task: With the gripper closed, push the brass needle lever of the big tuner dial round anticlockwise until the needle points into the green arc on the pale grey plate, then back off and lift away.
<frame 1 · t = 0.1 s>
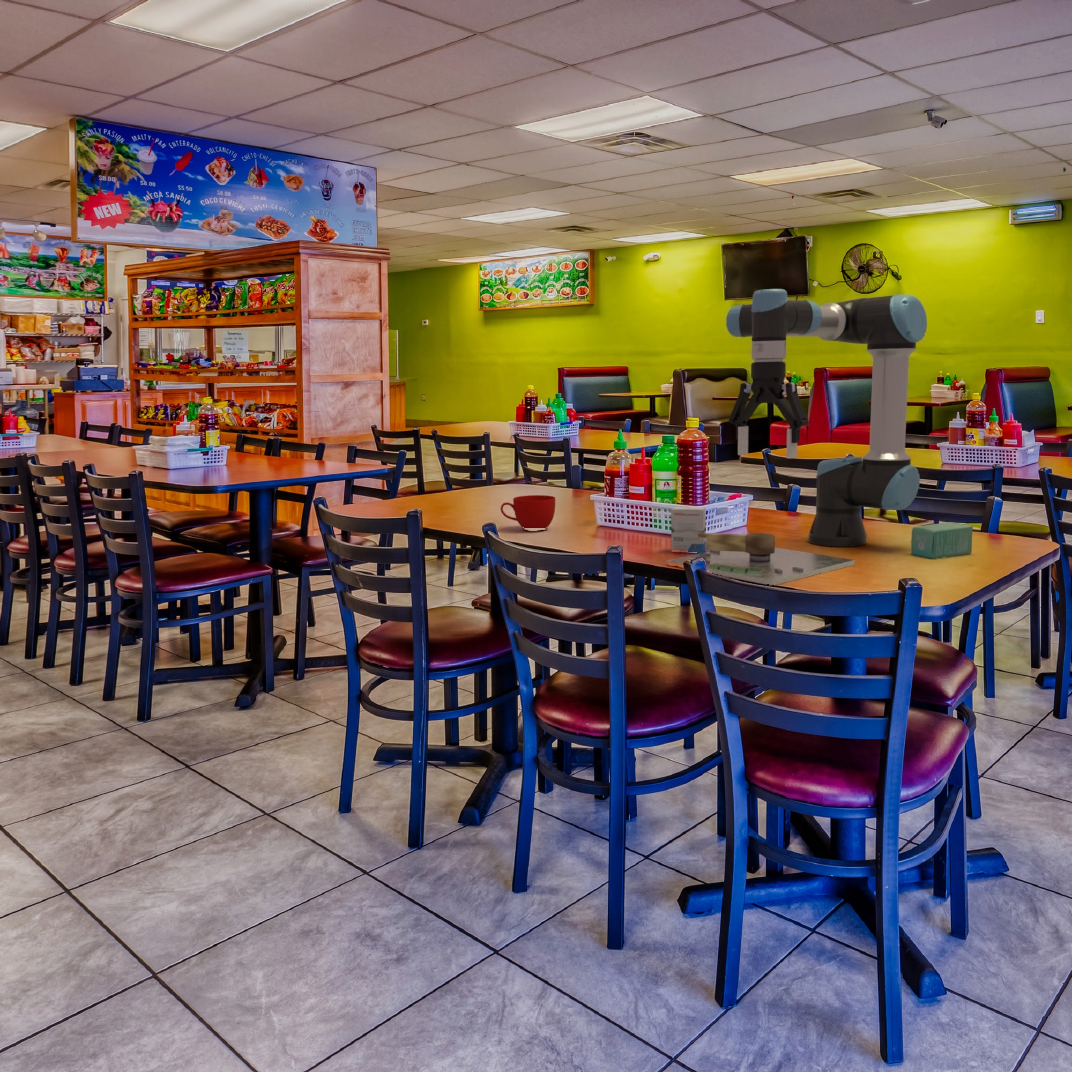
hand: (766, 456, 214), 28 cm above the table, fingers open, 13 cm apart
box: (940, 555, 240), on the table
dial: (735, 542, 233), point 5 cm above the table, hinge at 0.0°
tuner plate: (759, 564, 232), on the table
ink box: (688, 552, 251), on the table
ceramic cup: (528, 531, 291), on the table
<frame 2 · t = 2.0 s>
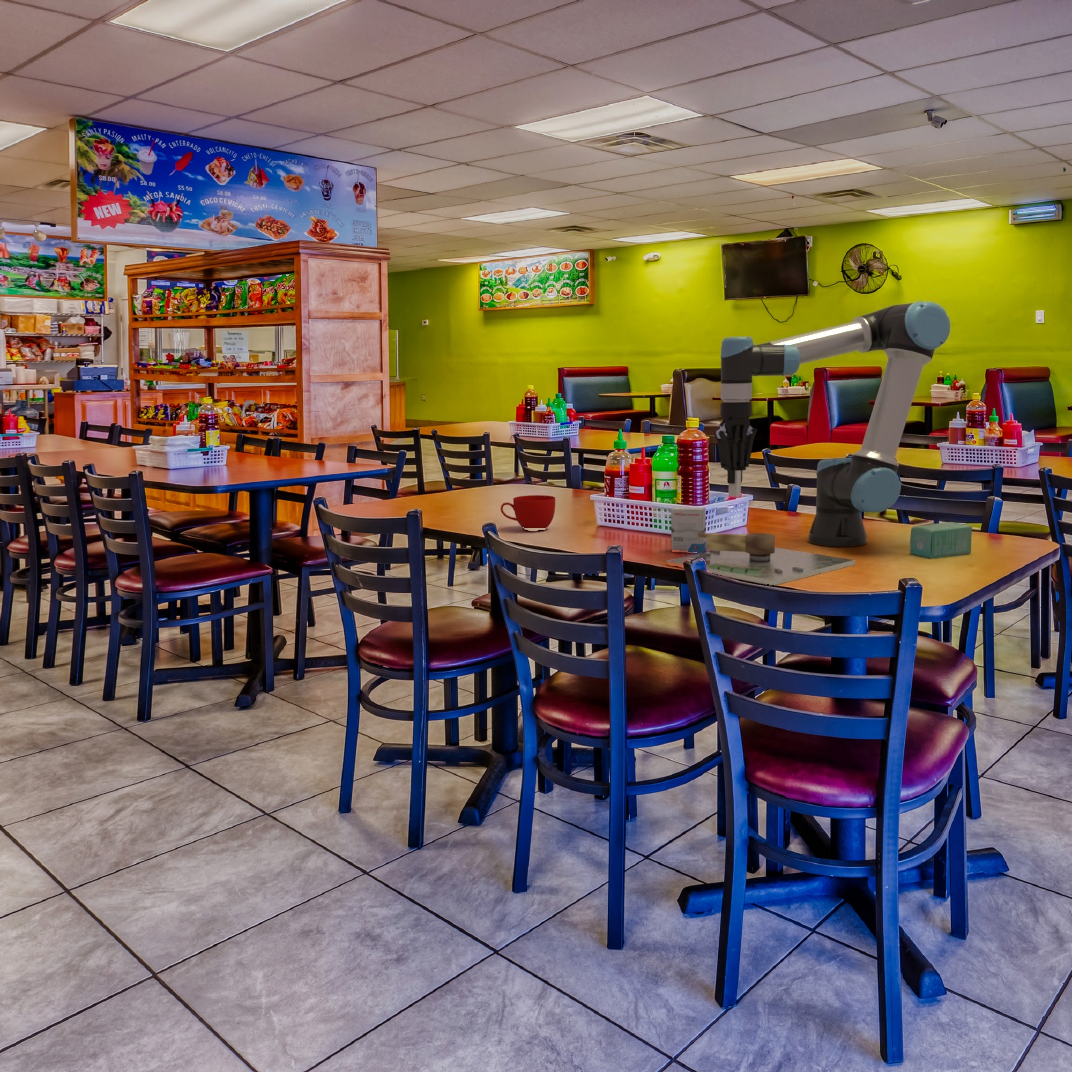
hand: (734, 496, 236), 16 cm above the table, fingers closed
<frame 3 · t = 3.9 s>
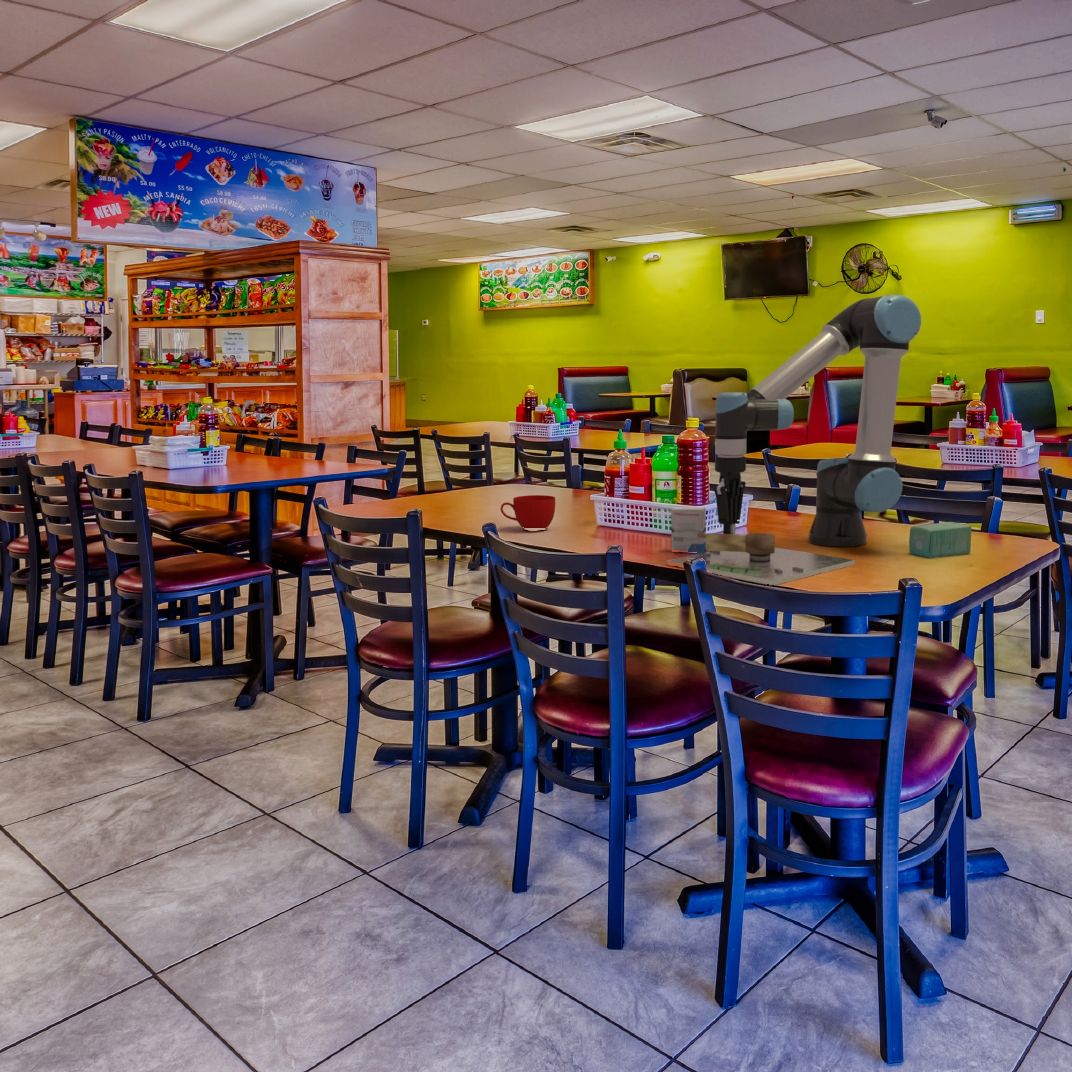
hand: (728, 549, 237), 3 cm above the table, fingers closed
dial: (735, 542, 233), point 5 cm above the table, hinge at 2.2°, touching gripper
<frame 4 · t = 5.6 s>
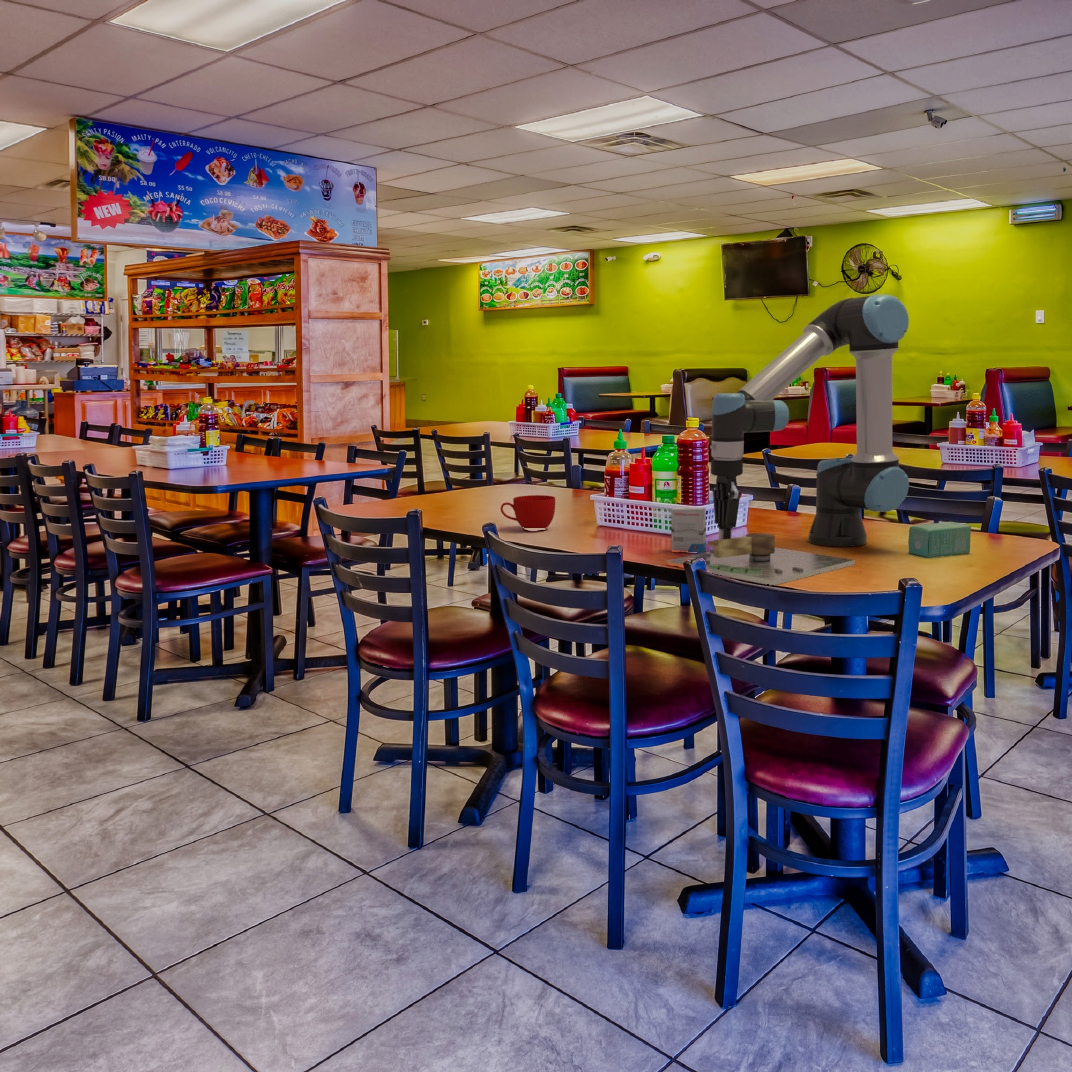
hand: (724, 554, 231), 3 cm above the table, fingers closed
dial: (740, 546, 229), point 5 cm above the table, hinge at 46.3°, touching gripper
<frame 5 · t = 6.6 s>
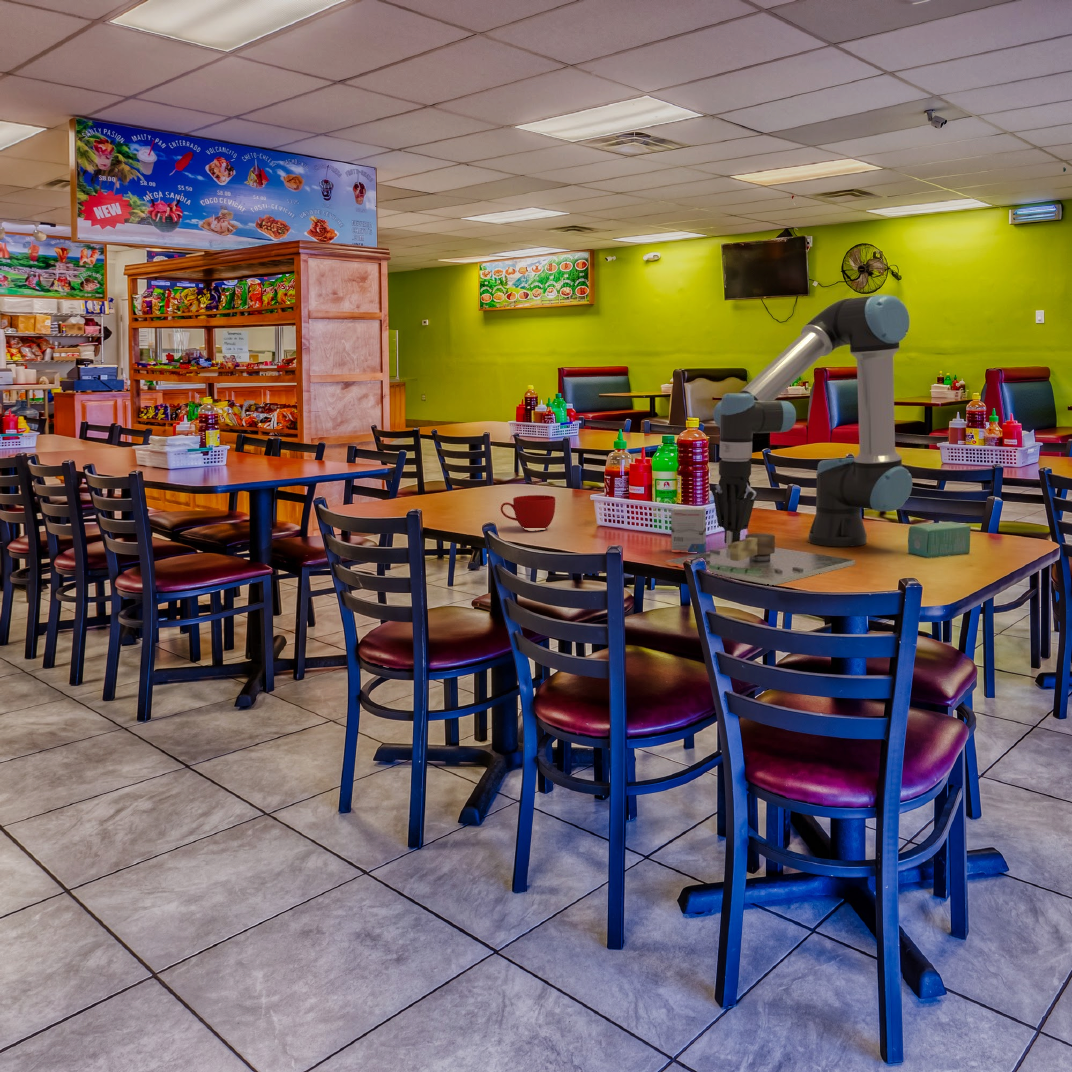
hand: (731, 557, 227), 3 cm above the table, fingers closed
dial: (748, 547, 227), point 5 cm above the table, hinge at 70.9°, touching gripper
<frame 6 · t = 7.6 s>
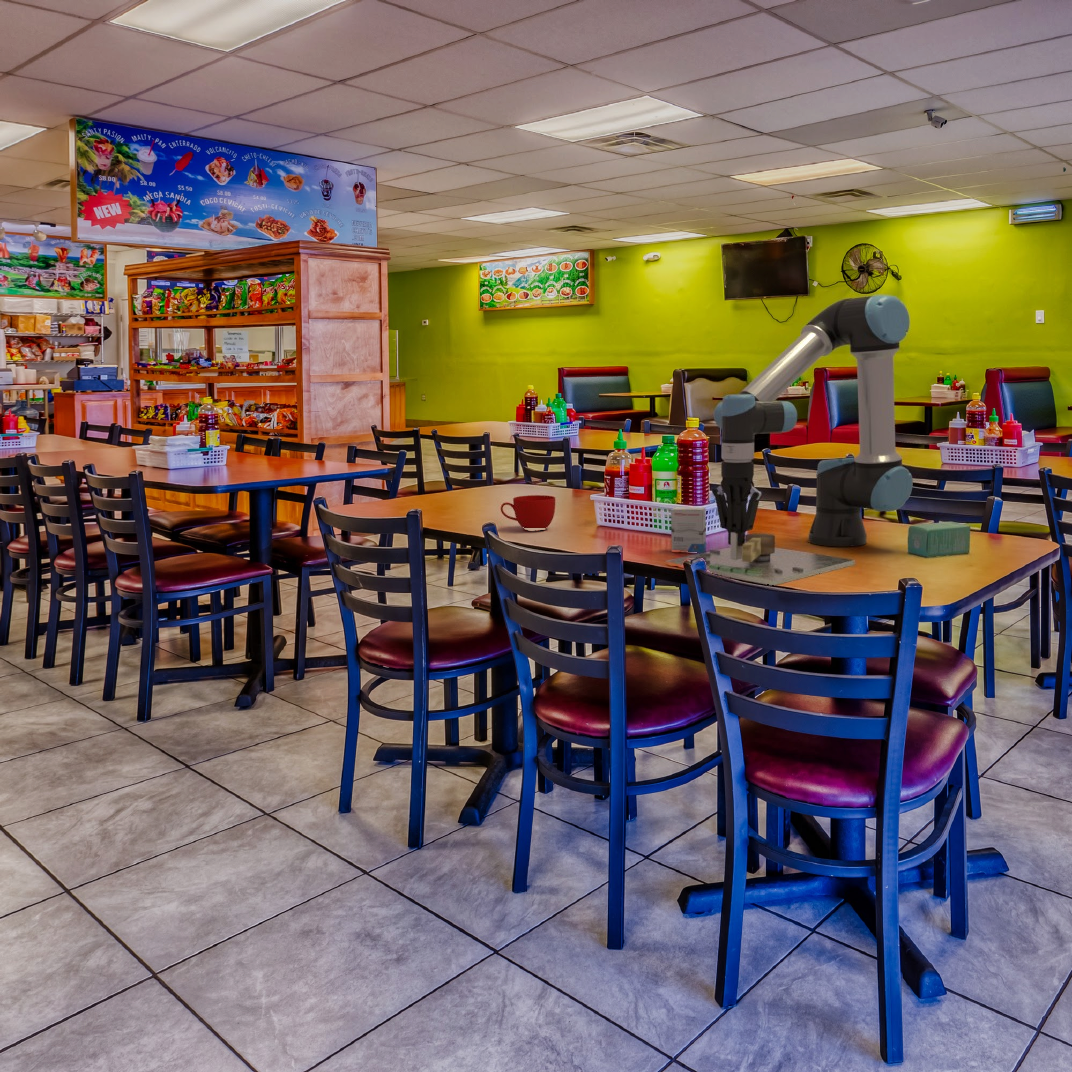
hand: (736, 558, 227), 3 cm above the table, fingers closed
dial: (754, 547, 226), point 5 cm above the table, hinge at 84.2°
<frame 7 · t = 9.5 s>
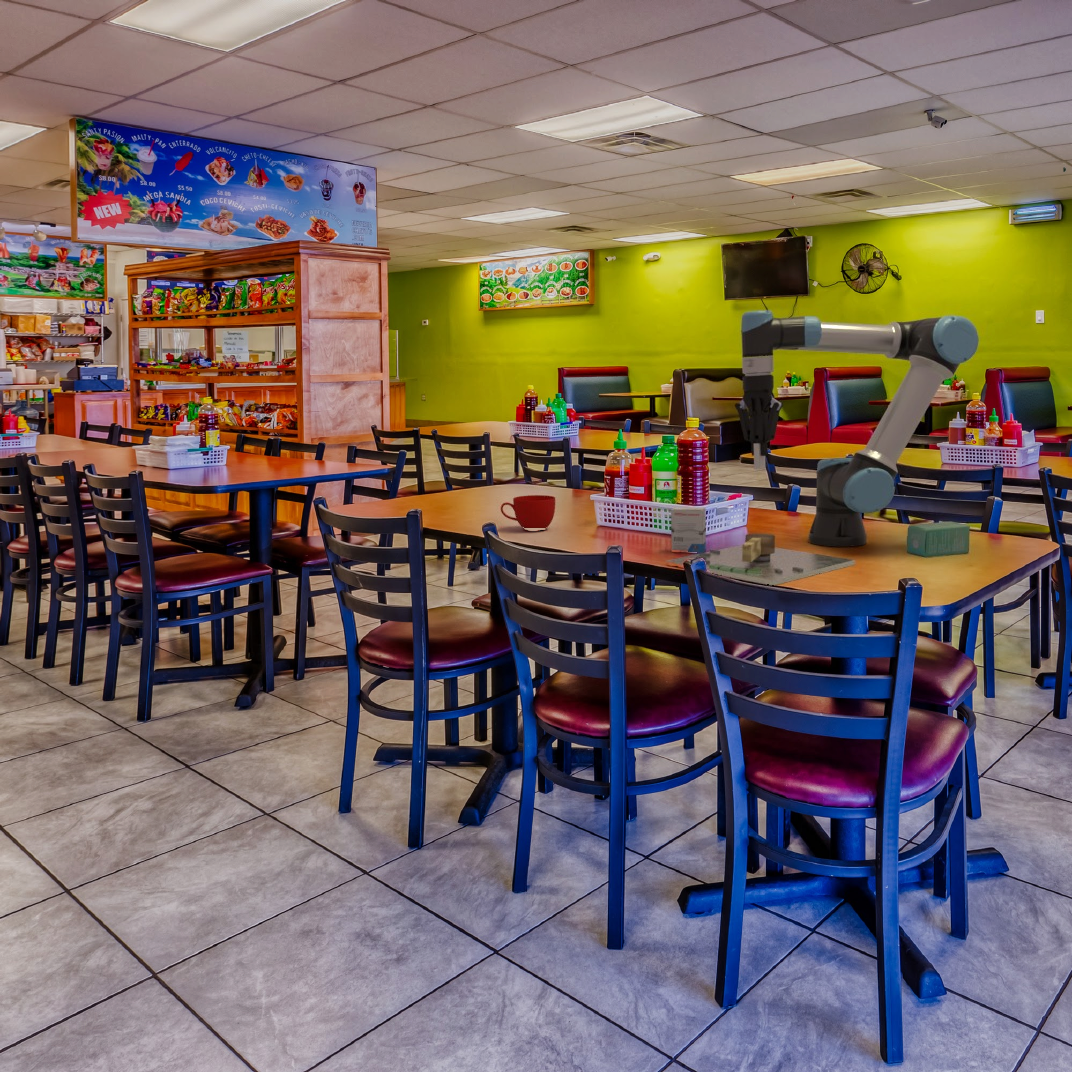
hand: (759, 468, 239), 22 cm above the table, fingers closed
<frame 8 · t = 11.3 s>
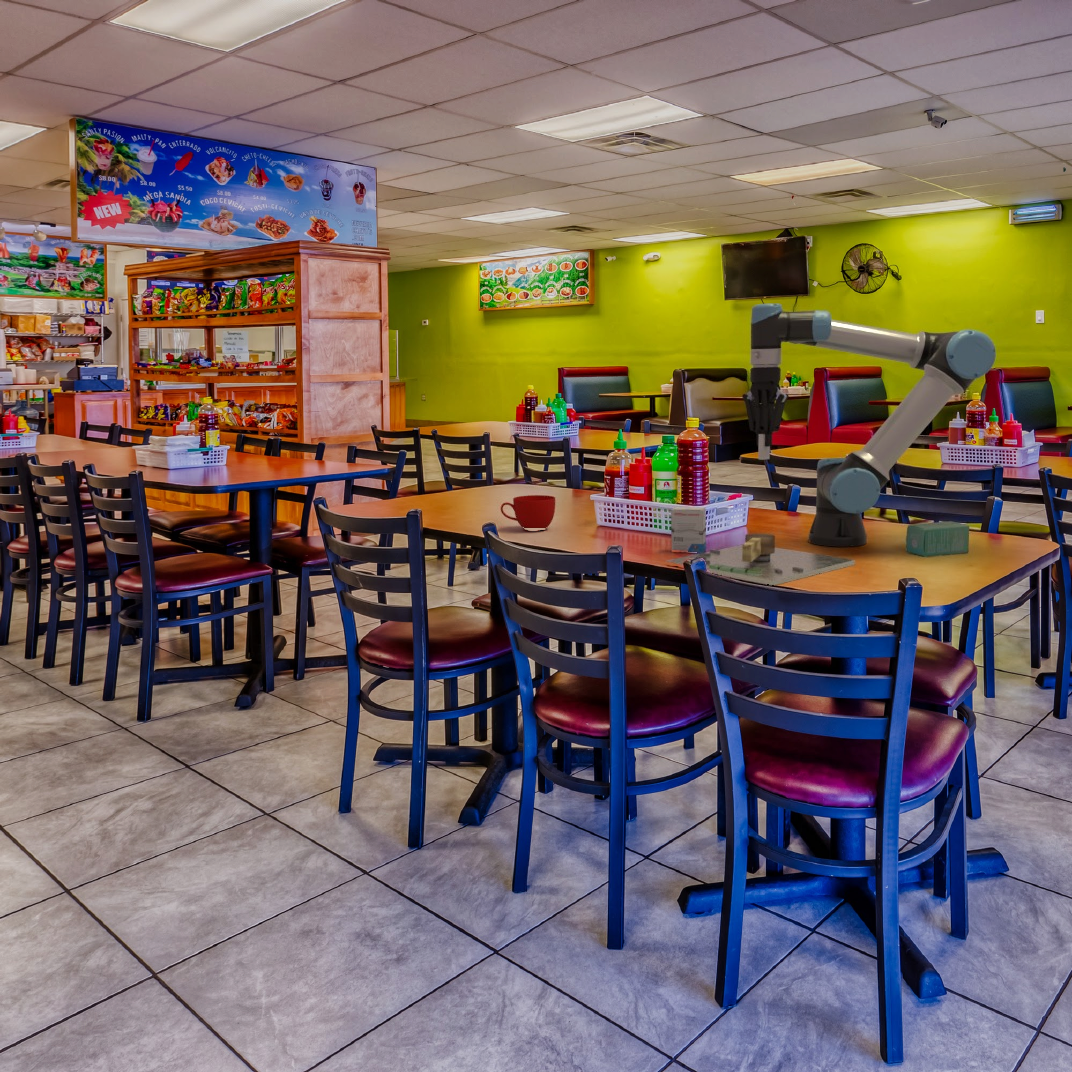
hand: (763, 459, 244), 24 cm above the table, fingers closed
at the end: dial at +84° (first picture: +0°); dial touching nothing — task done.
